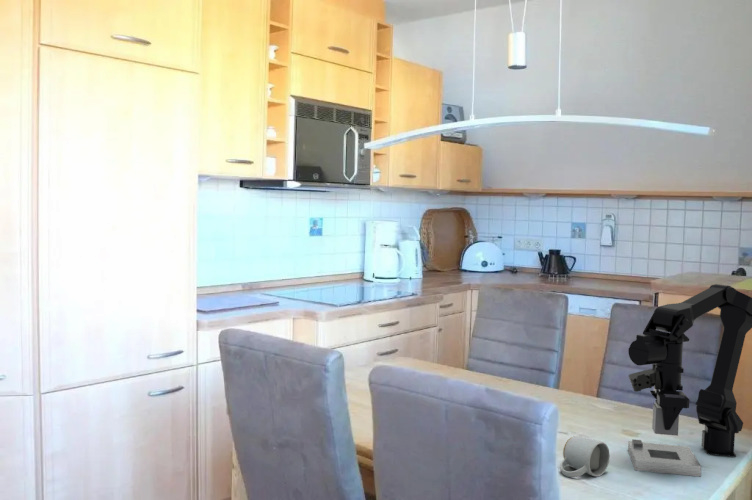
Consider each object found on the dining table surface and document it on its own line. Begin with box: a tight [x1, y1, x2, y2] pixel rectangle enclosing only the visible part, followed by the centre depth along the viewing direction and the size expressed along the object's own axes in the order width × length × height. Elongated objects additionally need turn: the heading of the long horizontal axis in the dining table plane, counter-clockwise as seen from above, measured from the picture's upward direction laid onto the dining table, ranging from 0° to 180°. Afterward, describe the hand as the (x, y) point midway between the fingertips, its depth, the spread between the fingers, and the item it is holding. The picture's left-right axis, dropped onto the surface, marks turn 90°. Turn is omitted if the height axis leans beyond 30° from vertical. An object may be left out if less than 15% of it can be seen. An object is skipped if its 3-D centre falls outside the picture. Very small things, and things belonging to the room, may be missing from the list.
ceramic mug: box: [559, 435, 611, 478], centre depth 159 cm, size 11×8×8 cm
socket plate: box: [627, 439, 702, 478], centre depth 166 cm, size 14×13×3 cm
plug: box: [651, 401, 680, 436], centre depth 164 cm, size 5×4×7 cm
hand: (665, 426), depth 164 cm, fingers closed on plug, 4 cm apart
